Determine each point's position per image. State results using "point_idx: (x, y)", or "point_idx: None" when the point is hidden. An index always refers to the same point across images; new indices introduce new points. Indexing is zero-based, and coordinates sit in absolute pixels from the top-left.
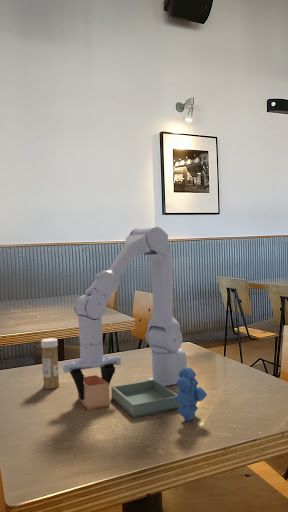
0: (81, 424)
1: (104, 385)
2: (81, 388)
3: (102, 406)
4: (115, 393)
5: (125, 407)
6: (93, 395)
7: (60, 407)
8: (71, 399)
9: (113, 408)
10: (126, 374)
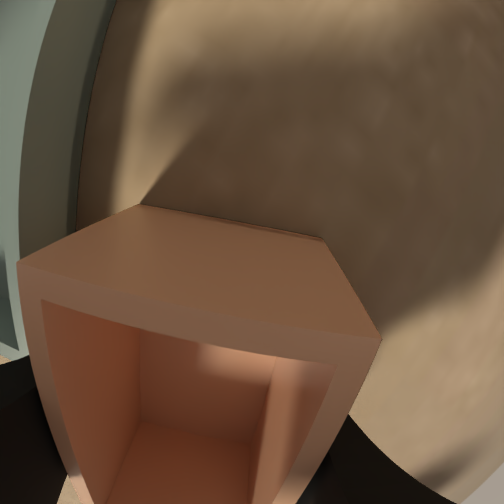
0: (464, 42)
1: (80, 273)
2: (341, 429)
3: (195, 215)
4: None
5: (90, 37)
6: (271, 266)
7: (416, 386)
8: None
9: (139, 138)
10: None
